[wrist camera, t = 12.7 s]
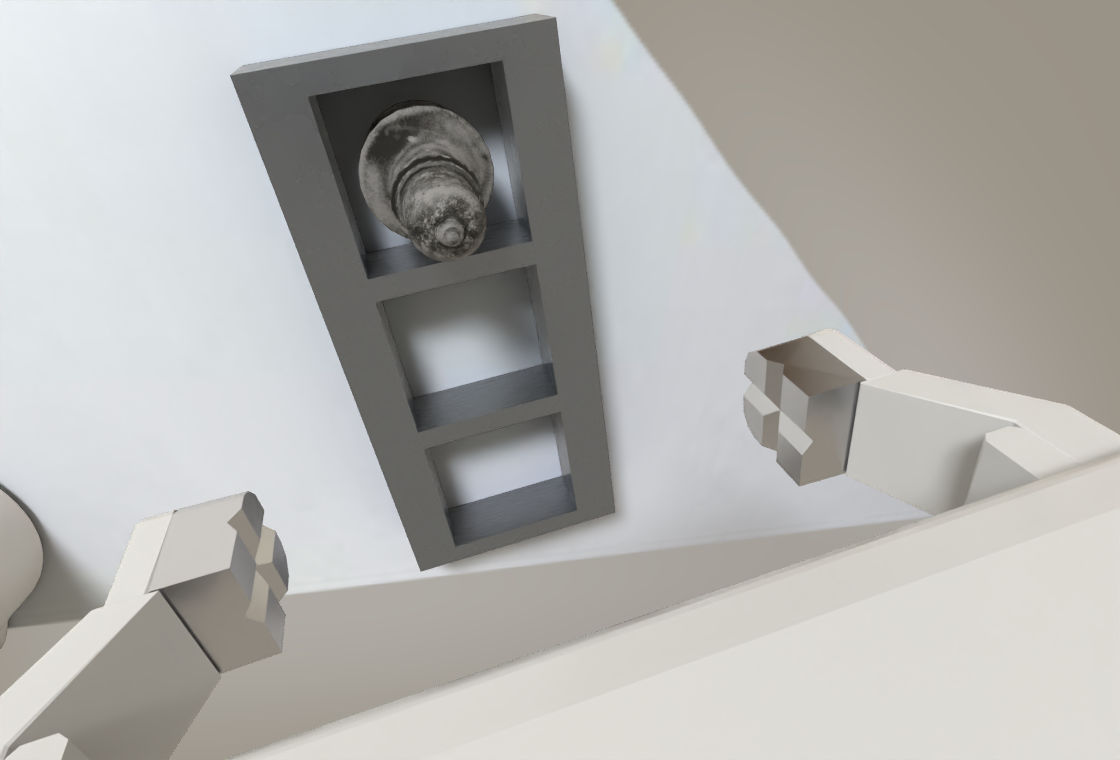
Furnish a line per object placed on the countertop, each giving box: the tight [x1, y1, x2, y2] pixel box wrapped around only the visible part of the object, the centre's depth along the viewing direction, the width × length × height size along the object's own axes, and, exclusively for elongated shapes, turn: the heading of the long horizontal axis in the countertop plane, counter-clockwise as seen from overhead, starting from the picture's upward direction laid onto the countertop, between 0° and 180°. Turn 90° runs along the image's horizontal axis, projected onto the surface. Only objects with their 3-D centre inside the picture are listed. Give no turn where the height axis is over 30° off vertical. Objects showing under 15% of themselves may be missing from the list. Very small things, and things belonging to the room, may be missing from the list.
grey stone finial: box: [358, 101, 494, 262], centre depth 26 cm, size 6×6×12 cm
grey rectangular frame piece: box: [230, 14, 615, 571], centre depth 35 cm, size 13×29×4 cm, turn 9°
